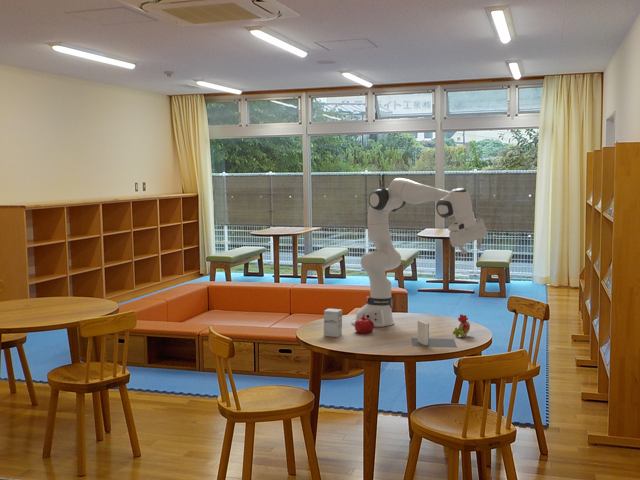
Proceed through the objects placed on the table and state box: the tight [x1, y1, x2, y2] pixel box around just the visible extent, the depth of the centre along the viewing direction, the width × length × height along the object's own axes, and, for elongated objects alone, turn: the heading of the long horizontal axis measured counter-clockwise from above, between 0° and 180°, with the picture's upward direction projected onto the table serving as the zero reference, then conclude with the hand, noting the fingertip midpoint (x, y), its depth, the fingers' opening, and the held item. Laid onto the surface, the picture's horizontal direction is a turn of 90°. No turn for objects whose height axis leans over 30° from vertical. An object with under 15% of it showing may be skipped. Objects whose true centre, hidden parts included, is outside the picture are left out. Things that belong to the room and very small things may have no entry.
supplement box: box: [323, 308, 343, 338], centre depth 323 cm, size 7×7×13 cm
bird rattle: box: [452, 314, 471, 338], centre depth 322 cm, size 6×11×9 cm
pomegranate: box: [354, 314, 375, 335], centre depth 330 cm, size 10×10×9 cm
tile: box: [417, 319, 430, 345], centre depth 305 cm, size 2×7×10 cm, turn 19°
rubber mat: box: [411, 337, 458, 348], centre depth 307 cm, size 20×16×1 cm
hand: (472, 251), depth 308 cm, fingers open, 8 cm apart
